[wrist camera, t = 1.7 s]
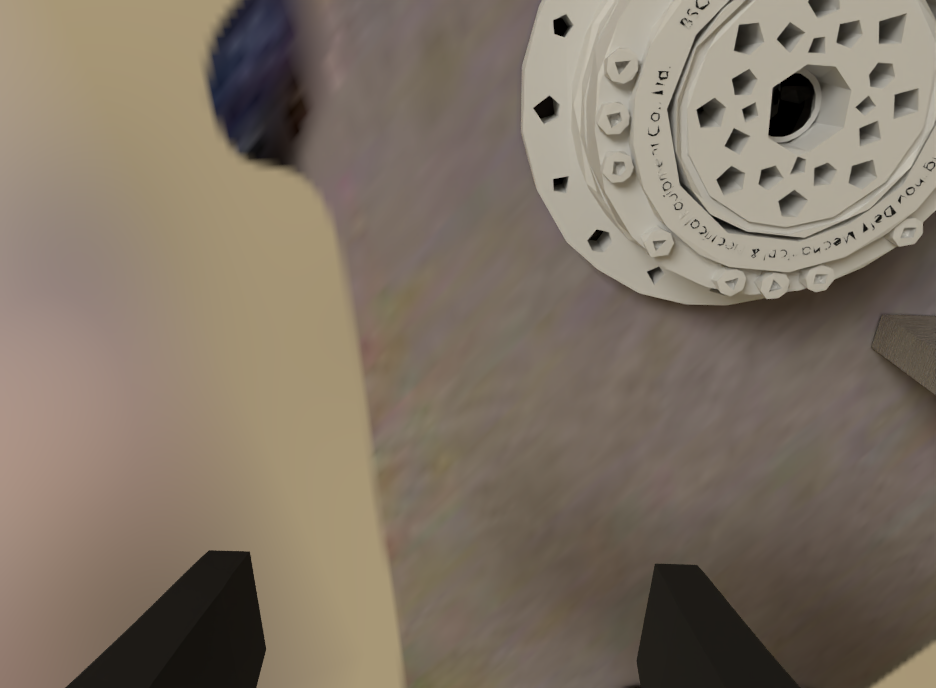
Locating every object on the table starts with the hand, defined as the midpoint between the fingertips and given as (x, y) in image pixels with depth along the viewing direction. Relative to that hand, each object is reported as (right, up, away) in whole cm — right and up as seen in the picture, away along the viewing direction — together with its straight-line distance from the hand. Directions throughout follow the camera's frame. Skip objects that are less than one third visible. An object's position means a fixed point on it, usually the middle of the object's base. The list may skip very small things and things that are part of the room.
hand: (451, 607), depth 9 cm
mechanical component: (+6, +10, +6) cm, 14 cm away
